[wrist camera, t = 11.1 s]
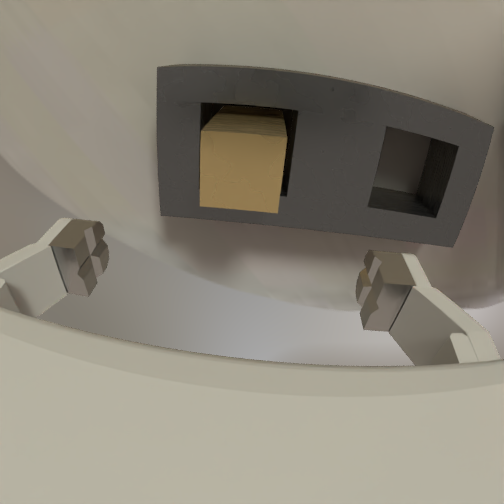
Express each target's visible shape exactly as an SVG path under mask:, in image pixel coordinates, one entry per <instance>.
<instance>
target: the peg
mask: <svg viewBox="0 0 504 504" xmlns="http://www.w3.org/2000/svg"><path fill="white" fill-rule="evenodd" d="M286 145H287V133H286V128H285V122H284V117H283V112H282V110H277V109H267V108H256V107H244V106H229V105H224V106H223V107H222V109H221V110H220V111H219V112H218V113H217V114H216V115H215V116H214V117H213V118H212V119H211V120H210V121H209V122H208V123H207V124H206V126H205V127H204V128H203V129H202V130H201V141H200V206H203V207H215V208H226V209H237V210H248V211H258V212H268V213H278V207H279V199H280V192H281V184H282V176H283V169H284V161H285V153H286Z"/></svg>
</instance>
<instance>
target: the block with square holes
mask: <svg viewBox="0 0 504 504" xmlns="http://www.w3.org/2000/svg"><path fill="white" fill-rule="evenodd" d="M212 103H227V104H242V105H255V106H266V107H276V108H284V109H293V113H292V121H291V129H290V137H289V145H288V153H287V161H286V168H285V174H283V176H282V184H281V192H280V199H279V207H278V213H268V212H258V211H248V210H237V209H226V208H215V207H203V206H200V141H201V130H202V129H203V128H204V127H205V126H206V124H207V123H208V122H209V121H210V120H211V119H212ZM386 126H388V127H393V128H397V129H401V130H405V131H409V132H413V133H416V134H420V135H424V136H427V137H431V138H432V139H431V143H430V147H429V151H428V155H427V159H426V162H425V166H424V170H423V173H422V177H421V180H420V183H419V187H418V190H417V193H416V194H412V193H406V192H401V191H396V190H390V189H384V188H379V187H373V183H374V179H375V175H376V171H377V167H378V163H379V158H380V154H381V150H382V145H383V141H384V136H385V131H386ZM493 130H494V127H493V126H491V125H489V124H487V123H485V122H482V121H480V120H478V119H476V118H474V117H472V116H470V115H467V114H465V113H462V112H460V111H457V110H454V109H452V108H449V107H446V106H443V105H440V104H437V103H434V102H431V101H428V100H425V99H422V98H419V97H415V96H412V95H409V94H405V93H402V92H398V91H394V90H390V89H387V88H383V87H379V86H375V85H370V84H366V83H361V82H357V81H352V80H347V79H342V78H337V77H331V76H326V75H320V74H313V73H307V72H300V71H292V70H284V69H275V68H264V67H252V66H237V65H210V64H179V65H169V66H162V67H157V153H158V177H159V196H160V211H161V216H173V217H186V218H197V219H209V220H220V221H231V222H241V223H252V224H262V225H272V226H282V227H291V228H300V229H310V230H319V231H328V232H336V233H345V234H353V235H362V236H370V237H378V238H386V239H394V240H401V241H409V242H416V243H424V244H431V245H438V246H445V247H452V248H453V246H454V244H455V242H456V239H457V237H458V235H459V232H460V230H461V227H462V225H463V222H464V220H465V217H466V215H467V212H468V210H469V207H470V204H471V202H472V199H473V196H474V193H475V190H476V187H477V185H478V182H479V178H480V175H481V172H482V169H483V166H484V163H485V159H486V156H487V152H488V149H489V145H490V142H491V138H492V134H493Z"/></svg>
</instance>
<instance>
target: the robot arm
mask: <svg viewBox="0 0 504 504" xmlns="http://www.w3.org/2000/svg"><path fill="white" fill-rule="evenodd" d="M104 235H105V231H104V227H103V224H102V223H101V222H100V221H91V220H82V219H73V218H61V219H59V220H58V221H57V222H56V223H55V224H54V225H53V226H52V227H51V228H50V230H48V231H47V232H46V233H45V234H44V236H43V237H42V238H41V239H40V240H39V241H38V242H37V243H36V244H31V245H28V246H26V247H24V248H22V249H20V250H18V251H16V252H14V253H12V254H10V255H8V256H6V257H4V258H2V259H0V504H504V359H501V358H500V356H499V354H498V352H497V350H496V347H495V345H494V343H493V340H492V338H491V336H490V334H489V332H488V331H487V330H486V329H485V328H484V327H482V326H481V325H480V324H479V323H478V322H477V321H476V320H474V319H473V318H472V317H471V316H469V315H468V314H467V313H466V312H465V311H464V310H462V309H461V308H460V307H459V306H458V305H456V304H455V303H454V302H453V301H452V300H450V299H449V298H448V297H447V296H445V295H444V294H443V293H442V292H440V291H439V290H438V289H437V288H432V287H431V285H430V283H429V281H428V279H427V277H426V275H425V273H424V271H423V269H422V267H421V265H420V263H419V261H418V259H417V257H416V256H415V255H414V254H410V253H396V252H386V251H376V250H368V252H367V254H366V256H365V259H364V264H365V267H366V268H365V269H364V270H362V271H361V272H360V273H359V276H358V279H357V284H356V298H357V303H358V304H359V305H361V306H362V309H361V312H360V316H361V320H362V325H363V329H364V330H375V331H388V332H389V334H390V335H391V336H392V337H393V339H394V340H395V341H396V342H397V343H398V345H399V346H400V347H401V348H402V350H403V351H404V352H405V353H406V355H407V356H408V357H409V358H410V360H411V361H412V362H413V363H414V365H415V366H337V365H315V364H314V365H313V364H298V363H284V362H272V361H262V360H252V359H243V358H234V357H226V356H218V355H210V354H203V353H195V352H189V351H183V350H177V349H170V348H164V347H159V346H153V345H148V344H142V343H137V342H132V341H127V340H122V339H118V338H113V337H108V336H104V335H99V334H95V333H91V332H87V331H83V330H78V329H74V328H70V327H67V326H63V325H59V324H55V323H52V322H48V321H45V320H41V319H38V318H37V317H38V316H40V315H41V314H42V313H44V312H45V311H46V310H47V309H49V308H50V307H51V306H53V305H54V304H55V303H57V302H58V301H59V300H61V299H62V298H63V297H65V296H66V295H67V293H69V294H75V295H81V296H87V297H89V296H90V294H91V293H92V291H93V289H94V288H95V286H96V284H97V279H96V277H98V276H100V275H102V274H103V273H104V271H105V270H106V268H107V265H108V261H109V250H108V245H107V244H106V243H105V242H104V241H103V237H104Z"/></svg>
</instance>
